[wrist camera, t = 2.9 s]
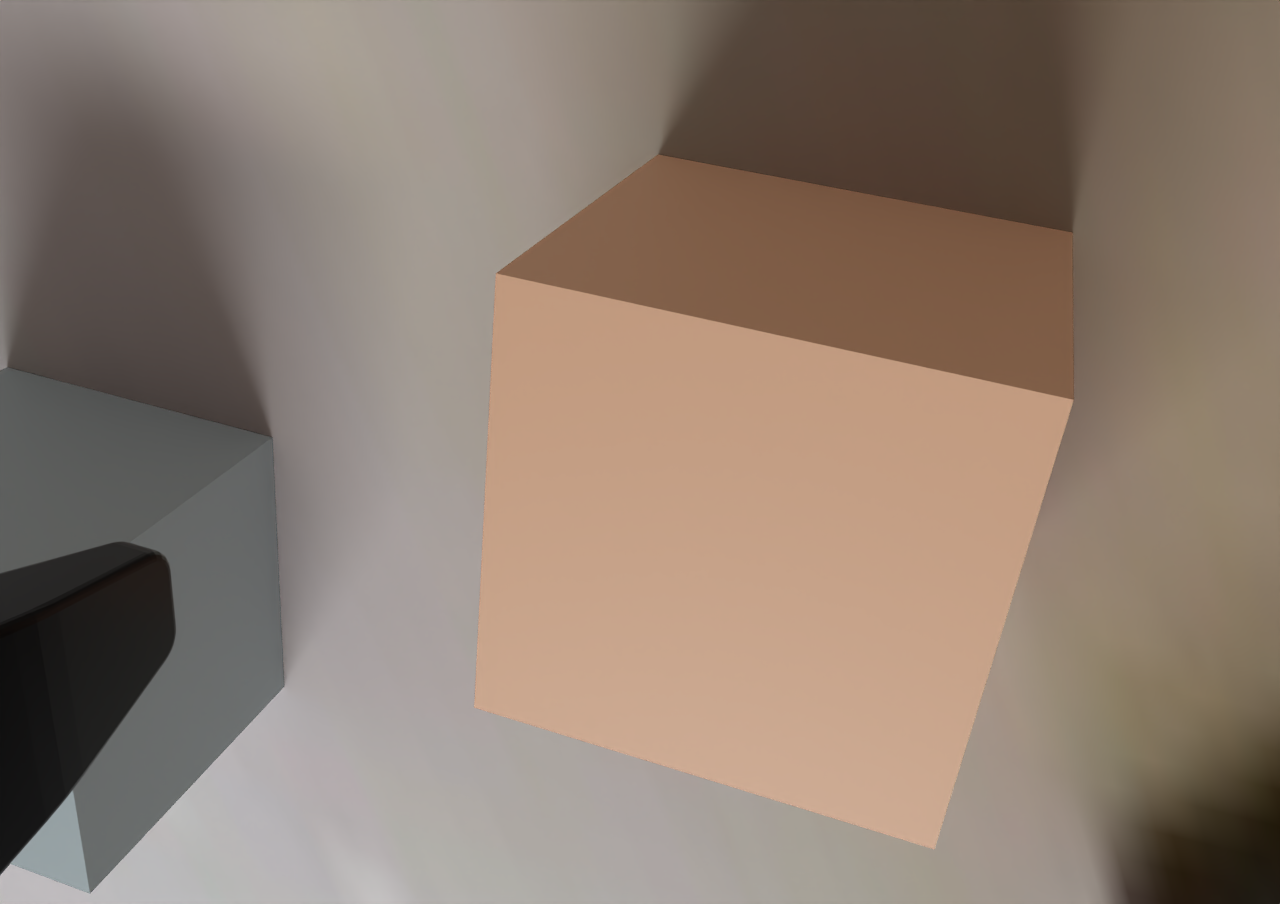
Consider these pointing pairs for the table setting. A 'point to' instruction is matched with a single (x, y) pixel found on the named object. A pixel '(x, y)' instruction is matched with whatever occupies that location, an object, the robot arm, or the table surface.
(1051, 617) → the table surface
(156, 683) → the slate grey cube
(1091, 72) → the table surface
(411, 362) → the table surface
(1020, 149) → the table surface
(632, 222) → the terracotta cube
